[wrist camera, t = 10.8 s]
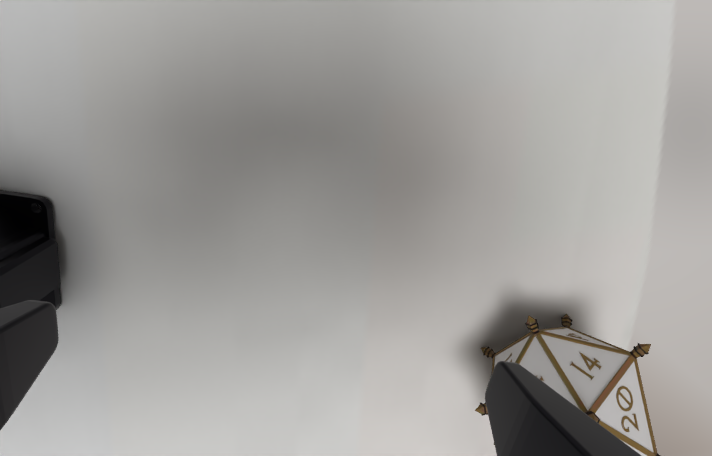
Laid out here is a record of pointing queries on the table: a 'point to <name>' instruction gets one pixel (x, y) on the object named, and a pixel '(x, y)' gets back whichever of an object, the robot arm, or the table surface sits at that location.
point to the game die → (587, 378)
